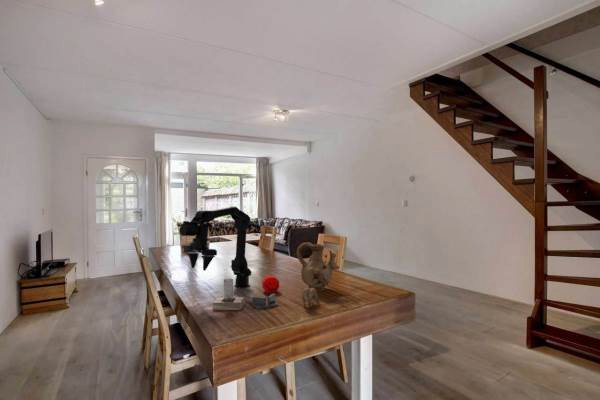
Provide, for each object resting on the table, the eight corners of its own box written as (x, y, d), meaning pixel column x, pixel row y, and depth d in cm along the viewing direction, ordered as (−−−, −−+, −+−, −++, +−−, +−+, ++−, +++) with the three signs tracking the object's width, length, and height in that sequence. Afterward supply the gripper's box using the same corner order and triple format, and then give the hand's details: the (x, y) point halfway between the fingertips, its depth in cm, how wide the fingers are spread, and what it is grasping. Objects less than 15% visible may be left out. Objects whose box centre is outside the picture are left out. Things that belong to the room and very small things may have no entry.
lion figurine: (311, 310, 129) (311, 289, 129) (299, 309, 130) (299, 288, 131) (319, 300, 143) (319, 281, 143) (308, 299, 145) (308, 280, 145)
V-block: (248, 302, 140) (248, 293, 140) (270, 299, 145) (270, 290, 145) (255, 309, 131) (255, 299, 131) (279, 305, 136) (279, 296, 136)
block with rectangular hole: (217, 304, 138) (217, 297, 138) (243, 303, 138) (243, 297, 138) (212, 309, 131) (212, 302, 131) (240, 309, 131) (240, 302, 131)
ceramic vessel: (317, 297, 148) (318, 245, 148) (290, 289, 161) (290, 242, 162) (340, 289, 161) (340, 242, 162) (313, 283, 174) (313, 239, 175)
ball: (264, 294, 152) (264, 279, 152) (261, 290, 160) (261, 275, 160) (280, 293, 155) (280, 278, 155) (276, 289, 162) (276, 274, 163)
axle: (229, 304, 137) (229, 277, 137) (235, 306, 134) (235, 279, 135) (222, 306, 134) (222, 279, 135) (227, 309, 132) (227, 281, 132)
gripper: (175, 234, 147) (172, 267, 145) (198, 237, 135) (195, 273, 134) (195, 235, 155) (192, 266, 154) (219, 237, 144) (216, 271, 143)
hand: (198, 269), depth 146 cm, fingers open, 9 cm apart
